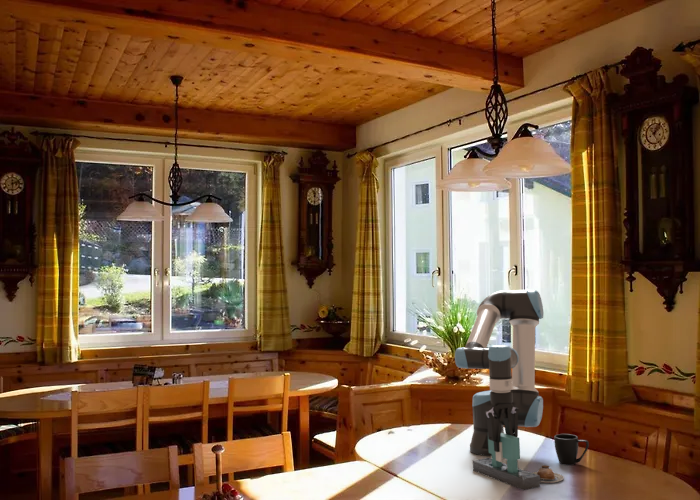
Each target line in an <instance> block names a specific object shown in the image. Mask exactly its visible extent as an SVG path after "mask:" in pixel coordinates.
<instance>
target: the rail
mask: <svg viewBox="0 0 700 500" xmlns="http://www.w3.org/2000/svg"><path fill="white" fill-rule="evenodd" d="M472 471H473V472H476V473H478V474H479V475H480V474H481V475H484V476H486V477H488V478H491V479H493V480H497V481H499V482H502V483H504V484H507V485H510V486H511V487H514V488H517V489H519V490H523V491H526V490H531V489H536V488H539V487H541V482H540V481H541V480H540V476H539V475H537V474H534V473H533V472H531V471H528V470H525V469H522V468H520V467H518V472H516V473H510V472H508V470H507V463H505V462H502V466H501V467H497V468H496V467H493V466H492V457H491V458H490V457H485V458H484V457H483V458H480V459H473V460H472Z"/></svg>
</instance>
